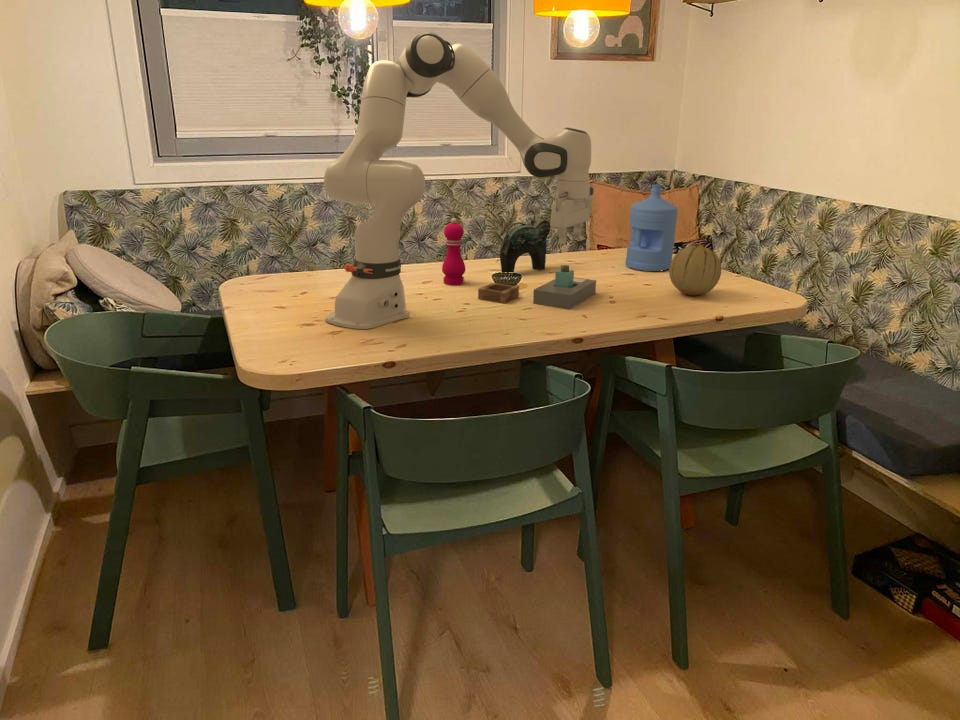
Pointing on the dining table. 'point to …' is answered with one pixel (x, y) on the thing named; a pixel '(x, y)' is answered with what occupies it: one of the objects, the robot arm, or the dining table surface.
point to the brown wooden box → (498, 292)
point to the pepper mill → (453, 254)
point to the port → (564, 293)
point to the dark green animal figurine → (525, 244)
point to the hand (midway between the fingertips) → (569, 241)
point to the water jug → (652, 233)
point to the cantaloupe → (695, 270)
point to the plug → (564, 277)
